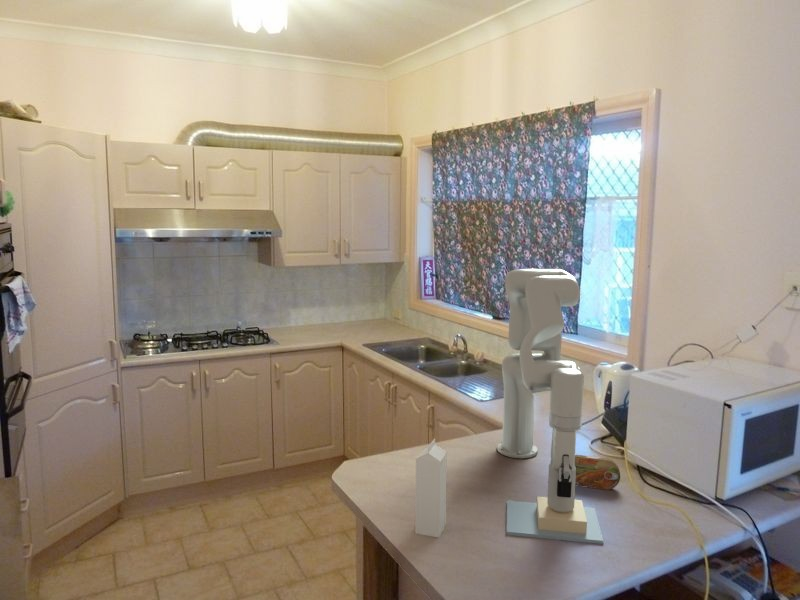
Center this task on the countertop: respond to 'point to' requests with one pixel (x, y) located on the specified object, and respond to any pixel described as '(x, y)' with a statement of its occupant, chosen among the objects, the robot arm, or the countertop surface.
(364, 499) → the countertop surface
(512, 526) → the board
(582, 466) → the tin
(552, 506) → the beverage can
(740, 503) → the countertop surface
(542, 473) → the countertop surface
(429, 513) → the milk
